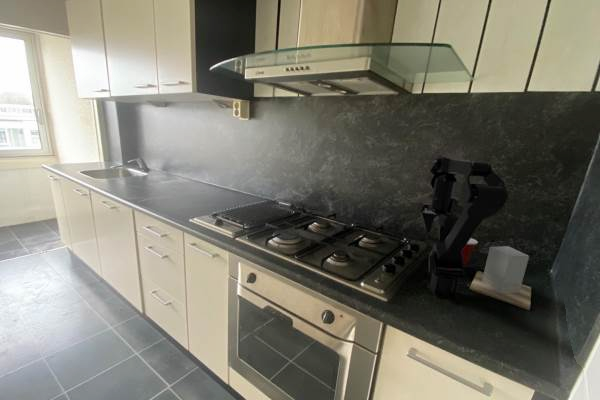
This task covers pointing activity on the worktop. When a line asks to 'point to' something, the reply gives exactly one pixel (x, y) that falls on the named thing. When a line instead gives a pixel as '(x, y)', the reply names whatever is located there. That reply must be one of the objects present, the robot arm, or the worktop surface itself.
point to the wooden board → (516, 299)
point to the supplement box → (505, 269)
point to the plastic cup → (467, 250)
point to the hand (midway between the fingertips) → (434, 237)
